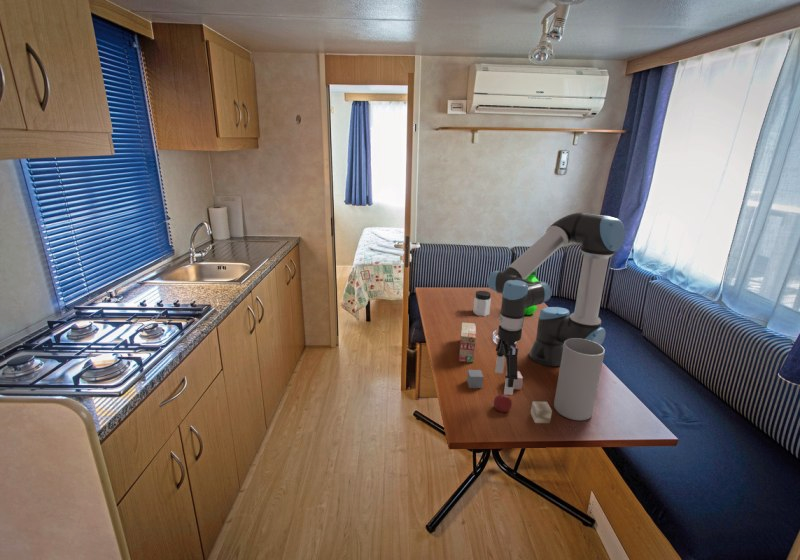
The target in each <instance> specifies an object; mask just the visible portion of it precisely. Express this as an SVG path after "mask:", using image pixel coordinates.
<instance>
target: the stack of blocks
mask: <svg viewBox="0 0 800 560" xmlns="http://www.w3.org/2000/svg"><path fill="white" fill-rule="evenodd" d="M460 331H461V332H460V333H461V334H460V343H459V355H458V362H461V361H462V362H463V363H470V362H472V363H471V364H473V363H474V359H475V350H476V349H475V347H476V339H477V336H476V335H477V332H476V331H477V328H476V323H473V322H472V323H471V322H461V330H460Z"/></svg>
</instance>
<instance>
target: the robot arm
mask: <svg viewBox="0 0 800 560" xmlns="http://www.w3.org/2000/svg"><path fill="white" fill-rule="evenodd" d="M625 230H626V229H625V226H624V223H623V222H622V220H620V219H619V218H617V217H613V216H610V215H602V214H593V213H586V212H574V213H571V214H567V215H565V216H563V217H561V218H559V219H558V220H556V221H554V222H553V223H552V224H551V225H549V227H547V229H546V231H545V233H544V234H543V235H542V236H540V238H539V239H538V240H537V241H535V243H533V244H532V245H531V246H530V247H528V249H527V250H526V251H524V252H523V253H522V254H521V255H520V256H519V257H517V258H516V259H515V260H514V261H513V262H511V264H509V266H507V267H506V268H505V269H504V270H503V271H501V270H494V271H492V272H491V273H490V274H489V276H488V279H487V286H488V287H489V289H490V290H491V291H494V292H496V293H497V294H500V295H502V297H501V306H500V307H501V308H500V316H498V317H497V319H498V320H499V323H498V324H499V325H498V330H497V331H498V332H497V336H498V341H497V344H496V347H495V352H496V355H497V356H496V359H495V360H496V362H495V368H494V373H495V374H504V368H505V362H506V371H507V376H506V375H505V376H504V377H505V378H504V379H506V381H505V380H504V390H503V394H505V395H507V396H510V395H511V396H512V395H513V394H514V389H513V388H514V381H515V379H516V380H517V379H518V373H517V371H518V354H519V353H518V352H519V350H518V348H517V347H516V342H519V341H520V340H521V338H522V333H523V326H524V321H525V320H524V319H525V314H524V312H525V308H527V307H531V306H535V305H536V306H537V305H538V306H539V305H542V304H544V303H546V302H549V300H550V299H551V297H552V290H551V286H550V285H549V284H548V283H547V282H545V281H542V280H541V281H540V280H538V281H536V282H531V281H528V280H525V279H526V278H527V277H528V276H529V275H530V274H531V273H532V272H533V271H535V270H536V271H537V269H538V268H539V267H540V266H541V265H542V264H543V263H544V262H545V261H547V260H548V259H549V258H550V257H551V256H552V255H553V254H554V253H555V252H557V251H558V250H559V249H560V248H564V247H566V246H567V245H568V244H570V243H576V244H580V249H579V250H580V252H581V253H582V255H583V259H582V265H581V269H580V275H579V276H580V277H579V280H578V281H579V283H578V288H577V293H576V301H575V306H574V312H572V313H570V310H569V309H568V308H564V307H560V306H549V307H544V308H542V309H541V310H540V311H539V316H538V322H537V330H536V337H535V340H534V342H533V344H532V345H531V348H530V350H529V358H530V359H532V361H534V362H535V363H537V364H539V365H543V366H547V367H560V365H561V359H562V353H563V347H564V342H565V340H567V339H571V338H581V339H586V340H590V341H593V342H596V343H598V344H600V345H601V346H602V344H603V342H604V340H605V338H606V334H607V333H606V329H605V328H604V327H601V324H602V320H601V318H600V317H599V313H600V307H601V301H602V295H603V293H604V292H603V291H604V285H605V279H606V276H607V275H606V274H607V268H608V263H609V260H610V259H609V258H611V257H612V256H614V255H615V251H616V252H617V251H619V250H620V249H621V248H622V246H623V243H624V240H625V235H626V231H625ZM505 360H506V361H505Z"/></svg>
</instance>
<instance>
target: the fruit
mask: <svg viewBox="0 0 800 560" xmlns="http://www.w3.org/2000/svg"><path fill="white" fill-rule="evenodd" d="M496 389H497V390H498V395H496V396H495V397H494V400H493V405H494V409H495V410H497V411H498V412H499V413H507V412H509V411H510V409H512V406H513V402H512V401H513V400H511V397H510V395H506V394H504V393H500V391H499V387H497V388H496Z"/></svg>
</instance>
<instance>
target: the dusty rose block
mask: <svg viewBox="0 0 800 560" xmlns="http://www.w3.org/2000/svg"><path fill="white" fill-rule="evenodd" d="M505 373H506V374H505V376H507V370H506V372H505ZM517 373H518V379H517V380H516V379H515V381H514V388H513V390H522V389H523V388H522V387H523V382H524V381H523V380H524V377H523V376H522V373H521V372H520V371H519V370H517ZM504 379H505V380H504V382H505V381H506V378H504Z"/></svg>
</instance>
